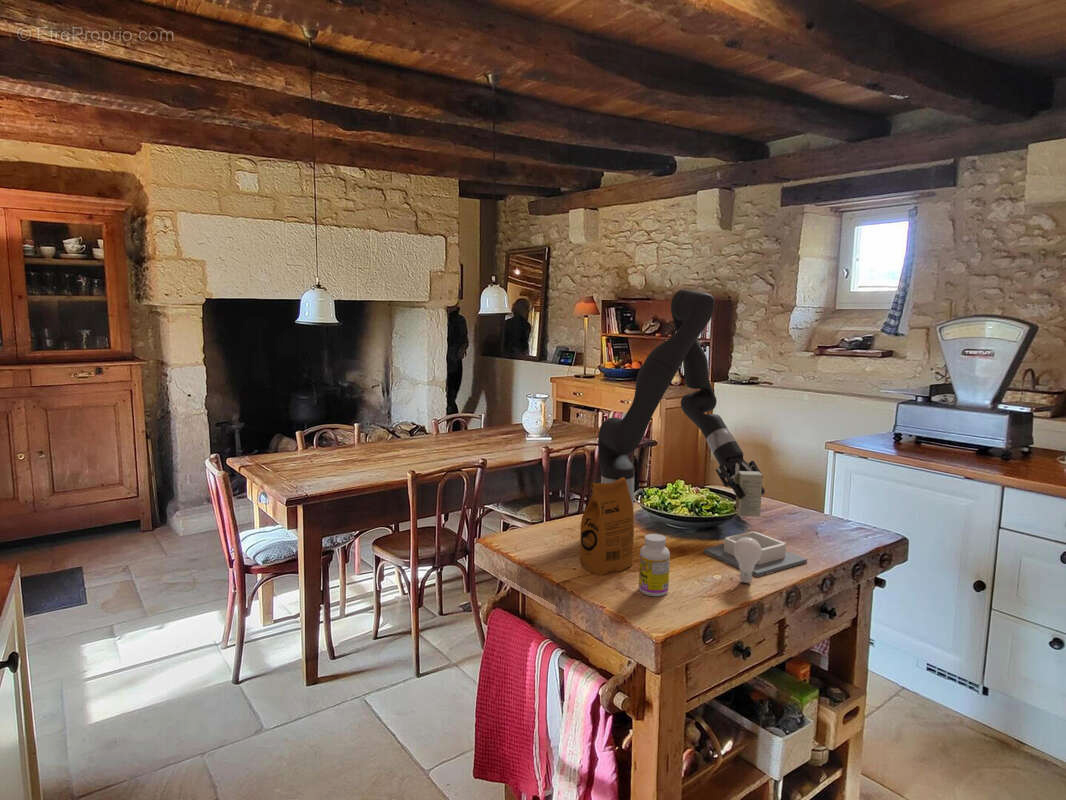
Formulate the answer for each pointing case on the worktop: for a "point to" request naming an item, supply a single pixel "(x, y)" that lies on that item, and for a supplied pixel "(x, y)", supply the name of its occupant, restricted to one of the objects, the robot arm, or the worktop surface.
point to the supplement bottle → (654, 566)
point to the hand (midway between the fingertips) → (752, 495)
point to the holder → (770, 559)
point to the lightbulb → (747, 556)
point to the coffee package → (607, 529)
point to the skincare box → (750, 493)
